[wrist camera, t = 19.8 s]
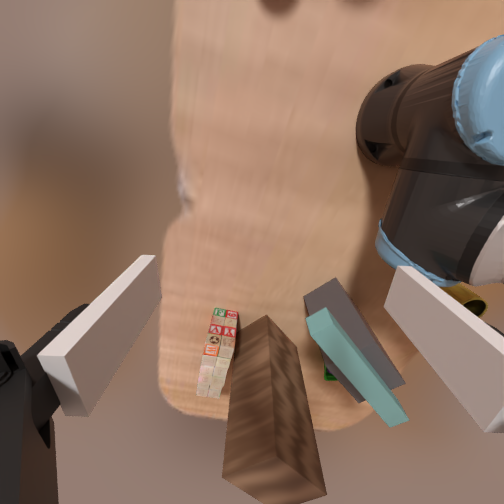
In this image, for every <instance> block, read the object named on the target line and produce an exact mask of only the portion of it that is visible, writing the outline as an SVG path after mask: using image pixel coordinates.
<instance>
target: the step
mask: <svg viewBox="0 0 504 504" xmlns="http://www.w3.org/2000/svg"><path fill="white" fill-rule="evenodd" d="M303 297H304V300H305V303H306V306H307V309H308V312H309V316H311V315H313V314H314V313H316V312H318V311H320V310H322V309H323V308H325V307H326V308H327V309H328V310H329V312H330V313H331V314H332V315H333V317H334V318H335V319H336V321H337V322H338V323H339V324H340V326H341V327H342V328H343V330H344V331H345V332H346V333H347V335H348V336H349V337H350V339H351V340H352V341H353V342H354V344H355V345H356V346H357V348H358V349H359V350H360V351H361V353H362V354H363V355H364V357H365V358H366V359H367V361H368V362H369V363H370V364H371V366H372V367H373V368H374V370H375V371H376V372H377V373H378V375H379V376H380V377H381V379H382V380H383V381H384V382H385V384H386V385H387V386H388V388H389V389H390V390H392V389H394V388H396V387H399V386H401V385H403V384H405V381H404V380H403V379H402V377H401V375H400V374H399V372H398V370H397V369H396V367H395V366H394V364H393V363H392V361H391V359H390V358H389V356H388V355H387V353H386V351H385V350H384V348H383V347H382V345H381V344H380V342H379V340H378V339H377V337H376V336H375V334H374V333H373V331H372V329H371V328H370V326H369V325H368V323H367V322H366V320H365V318H364V317H363V315H362V314H361V312H360V310H359V309H358V308H357V306H356V305H355V303H354V302H353V301H352V299H351V298H350V297H349V295H348V294H347V292H346V291H345V290H344V288H343V287H342V285H341V284H340V283H339V281H338V280H337V278H334V279H332V280H331V281H329V282H327V283H325V284H324V285H322V286H320V287H319V288H317V289H315V290H314V291H312V292H310V293H309V294H307V295H305V296H303ZM319 347H320V346H319ZM320 350H321V353H322V356H323V359H324V363H325V366H326V367H327V368H328V370H329V371H330V372H331V373H332V374H333V375H334V376H335V377H336V378H337V380H338V381H339V382H340V383H341V384H342V385H343V386H344V387H345V388H346V390H347V391H348V392H349V393H350V394H351V395H352V396H353V397H354V398H355V400H356V401H357V402H358V403H361V402H363V401H365V400H366V399H365V398H364V397H363V396H362V395H361V394H360V392H359V391H358V390H357V389H356V388H355V387H354V385H353V384H352V383H351V382H350V381H349V380H348V378H347V377H346V376H345V375H344V374H343V373H342V371H341V370H340V369H339V368H338V367H337V366H336V365H335V363H334V362H333V361H332V360H331V359H330V358H329V356H328V355H327V354H326V353H325V352H324V351H323V349H322V348H321V347H320Z"/></svg>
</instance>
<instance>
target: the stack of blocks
mask: <svg viewBox="0 0 504 504" xmlns="http://www.w3.org/2000/svg"><path fill="white" fill-rule="evenodd" d="M237 319H238V312H235V311H230V310H224V309H219V308H215V309H214V312H213V316H212V320H211V324H210V327H209V331H208V335H207V339H206V342H205V347H204V352H203V356H202V362H201V366H200V372H199V373H200V374H199V379H198V384H197V392H196V395H198V396H204V397H211V398H218V399H219V397H220V393H221V390H222V387H224V384H225V380H226V374H227V371H228V368H229V365H230V362H231V358H232V355H233V352H234V346H235V337H236V325H237Z"/></svg>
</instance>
